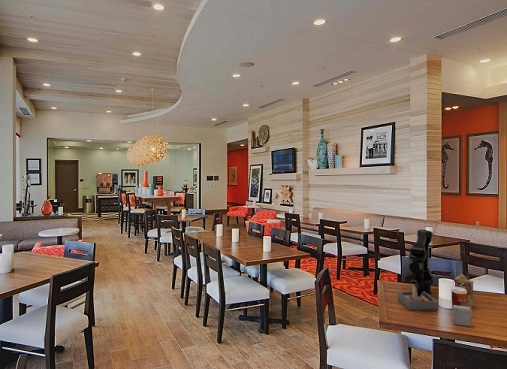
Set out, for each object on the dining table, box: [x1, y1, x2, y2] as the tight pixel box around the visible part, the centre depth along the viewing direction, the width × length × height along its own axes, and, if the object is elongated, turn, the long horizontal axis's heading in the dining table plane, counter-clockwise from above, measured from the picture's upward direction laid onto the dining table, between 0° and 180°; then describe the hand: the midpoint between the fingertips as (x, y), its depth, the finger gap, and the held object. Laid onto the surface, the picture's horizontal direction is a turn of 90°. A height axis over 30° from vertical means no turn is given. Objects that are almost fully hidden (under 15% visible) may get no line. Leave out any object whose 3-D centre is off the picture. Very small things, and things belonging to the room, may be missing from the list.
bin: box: [397, 290, 439, 312], centre depth 200 cm, size 16×16×5 cm
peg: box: [411, 283, 422, 301], centre depth 200 cm, size 4×4×9 cm
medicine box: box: [451, 304, 473, 327], centre depth 176 cm, size 8×4×9 cm, turn 71°
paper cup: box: [450, 286, 467, 306], centre depth 188 cm, size 8×8×14 cm
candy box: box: [453, 277, 474, 309], centre depth 199 cm, size 9×4×15 cm, turn 39°
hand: (417, 295), depth 200 cm, fingers closed on peg, 4 cm apart
